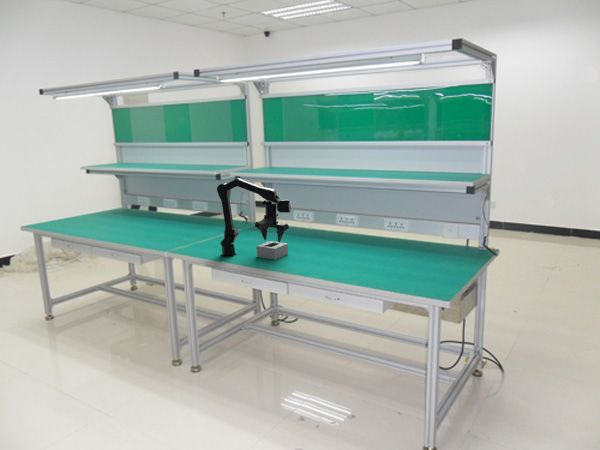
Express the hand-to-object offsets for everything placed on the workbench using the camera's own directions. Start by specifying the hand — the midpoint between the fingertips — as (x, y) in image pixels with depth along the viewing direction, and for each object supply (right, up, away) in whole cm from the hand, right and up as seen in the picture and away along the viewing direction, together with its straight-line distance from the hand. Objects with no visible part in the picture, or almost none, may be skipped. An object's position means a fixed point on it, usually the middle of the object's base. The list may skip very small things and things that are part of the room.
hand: (272, 241), depth 248 cm
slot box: (0, -8, +2) cm, 8 cm away
